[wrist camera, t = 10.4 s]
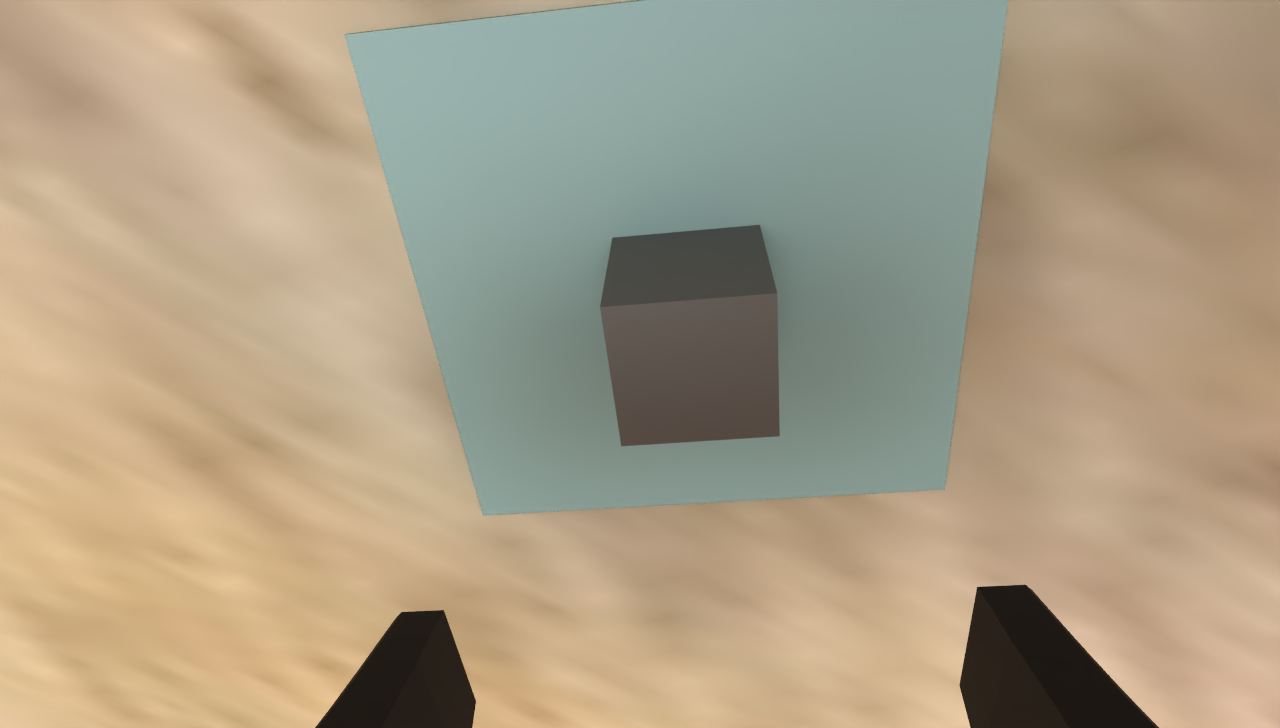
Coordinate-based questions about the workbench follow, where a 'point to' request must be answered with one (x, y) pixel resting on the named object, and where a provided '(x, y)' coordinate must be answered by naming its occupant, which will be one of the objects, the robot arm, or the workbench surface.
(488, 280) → the teal lid
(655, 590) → the workbench surface
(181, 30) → the workbench surface
